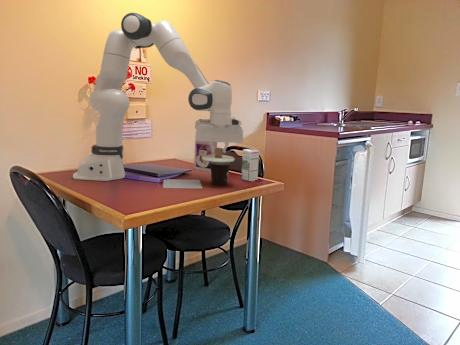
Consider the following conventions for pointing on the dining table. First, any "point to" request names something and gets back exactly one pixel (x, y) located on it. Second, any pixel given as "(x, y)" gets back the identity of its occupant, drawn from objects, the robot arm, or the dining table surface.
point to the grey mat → (181, 183)
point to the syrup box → (250, 165)
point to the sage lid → (218, 157)
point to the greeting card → (200, 151)
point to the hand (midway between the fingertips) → (218, 152)
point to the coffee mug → (219, 173)
